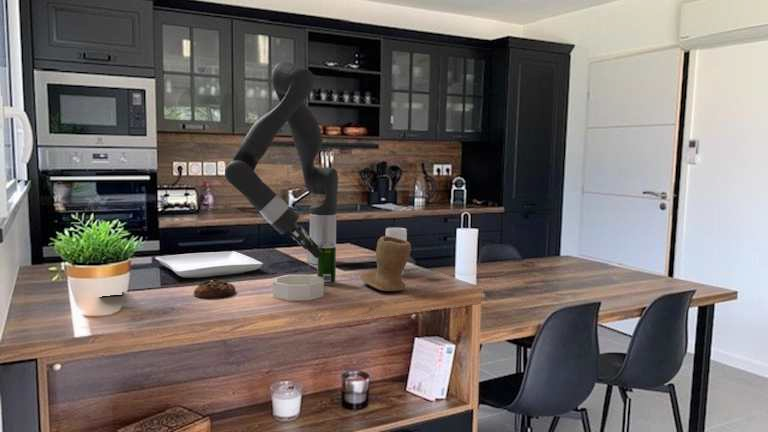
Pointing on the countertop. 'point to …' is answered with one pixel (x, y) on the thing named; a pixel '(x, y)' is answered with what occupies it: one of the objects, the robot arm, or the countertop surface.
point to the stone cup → (389, 264)
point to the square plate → (209, 264)
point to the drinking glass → (397, 234)
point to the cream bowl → (298, 287)
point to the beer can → (327, 262)
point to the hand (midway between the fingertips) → (318, 253)
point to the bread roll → (214, 289)
